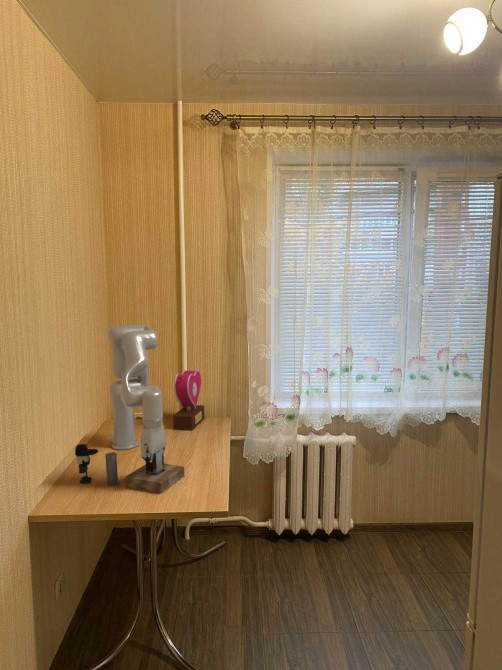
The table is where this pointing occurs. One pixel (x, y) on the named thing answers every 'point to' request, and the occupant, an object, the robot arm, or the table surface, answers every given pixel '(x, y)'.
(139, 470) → the bore block
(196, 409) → the decorative clock
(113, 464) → the round bit
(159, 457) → the square bit
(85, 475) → the toy
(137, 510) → the table surface
